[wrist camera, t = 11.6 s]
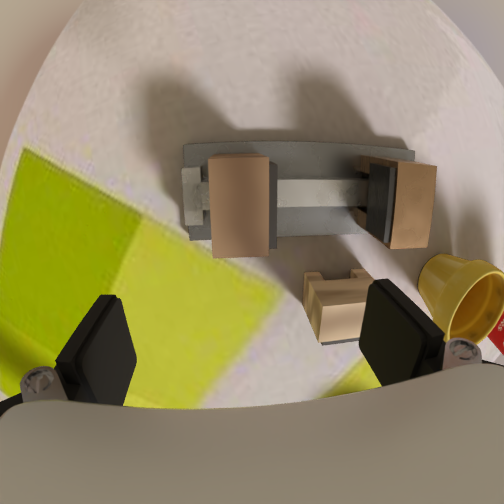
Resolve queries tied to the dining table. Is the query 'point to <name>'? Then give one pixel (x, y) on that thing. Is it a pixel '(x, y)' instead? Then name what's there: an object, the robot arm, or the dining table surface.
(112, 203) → the dining table surface
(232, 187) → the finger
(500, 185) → the dining table surface
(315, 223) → the rail
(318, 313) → the tan notched block
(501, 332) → the coffee cup
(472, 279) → the plant pot
